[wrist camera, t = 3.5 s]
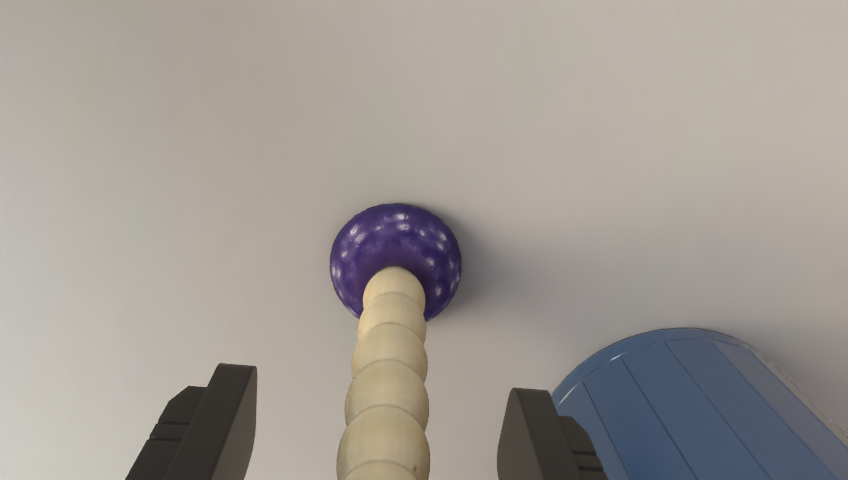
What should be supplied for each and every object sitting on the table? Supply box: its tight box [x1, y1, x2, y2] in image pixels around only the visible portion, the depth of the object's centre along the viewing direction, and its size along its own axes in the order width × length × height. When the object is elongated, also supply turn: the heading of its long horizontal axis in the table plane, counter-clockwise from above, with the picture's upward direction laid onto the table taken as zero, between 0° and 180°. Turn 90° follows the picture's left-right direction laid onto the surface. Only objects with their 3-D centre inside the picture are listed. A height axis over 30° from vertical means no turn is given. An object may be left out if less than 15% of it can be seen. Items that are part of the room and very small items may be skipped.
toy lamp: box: [330, 204, 462, 480], centre depth 12 cm, size 5×5×17 cm
